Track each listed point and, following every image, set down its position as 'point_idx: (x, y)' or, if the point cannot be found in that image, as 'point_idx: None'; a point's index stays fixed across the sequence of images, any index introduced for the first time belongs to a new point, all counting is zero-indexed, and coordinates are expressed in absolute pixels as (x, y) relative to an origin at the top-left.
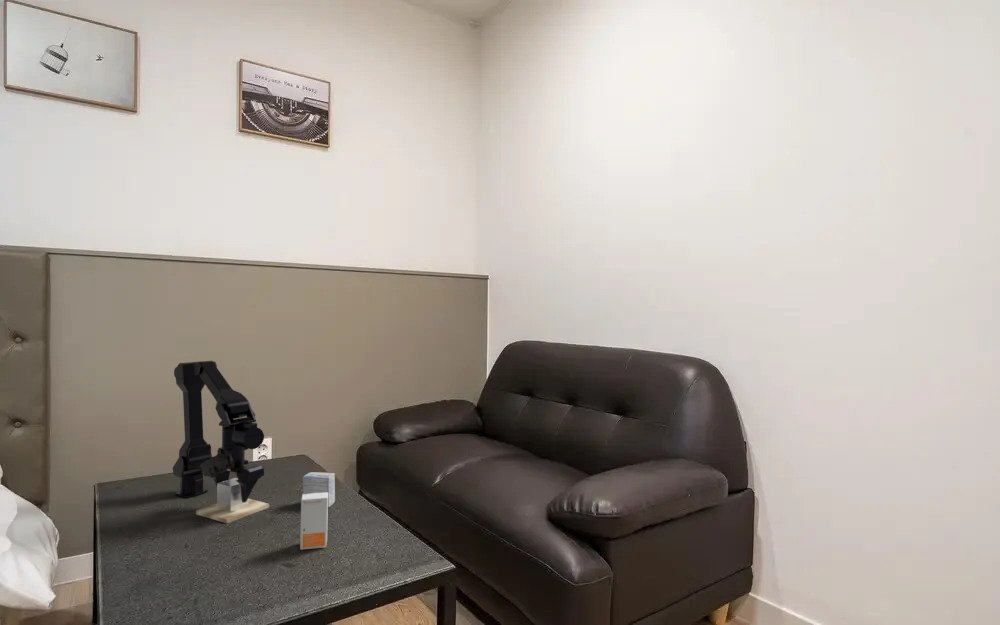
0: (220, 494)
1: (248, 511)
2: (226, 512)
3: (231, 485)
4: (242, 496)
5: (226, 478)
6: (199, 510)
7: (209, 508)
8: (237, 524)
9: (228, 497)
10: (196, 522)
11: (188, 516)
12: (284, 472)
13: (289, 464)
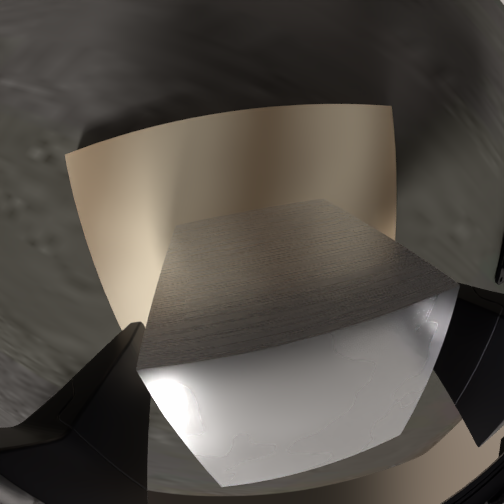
0: (335, 243)
1: (111, 303)
2: (195, 204)
3: (193, 394)
4: (108, 350)
5: (456, 382)
6: (378, 116)
7: (362, 170)
8: (33, 192)
9: (196, 266)
10: (250, 35)
11: (378, 69)
12: (398, 445)
13: (416, 447)
